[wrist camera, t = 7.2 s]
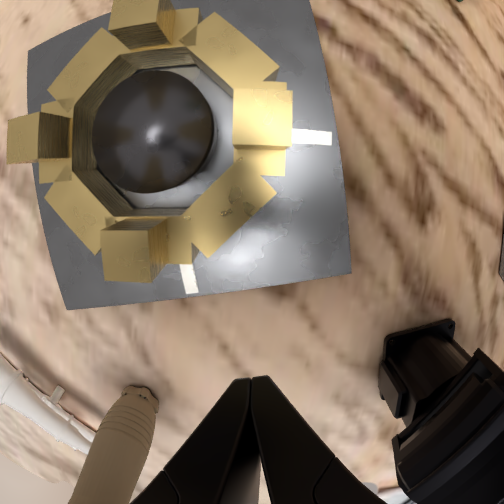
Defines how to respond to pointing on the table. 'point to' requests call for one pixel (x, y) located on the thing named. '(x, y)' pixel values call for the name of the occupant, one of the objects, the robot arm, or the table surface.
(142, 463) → the handle
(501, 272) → the tankard
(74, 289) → the cap plate
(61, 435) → the white tapered multi-tube piece
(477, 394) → the robot arm
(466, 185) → the table surface
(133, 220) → the octagonal socket base
